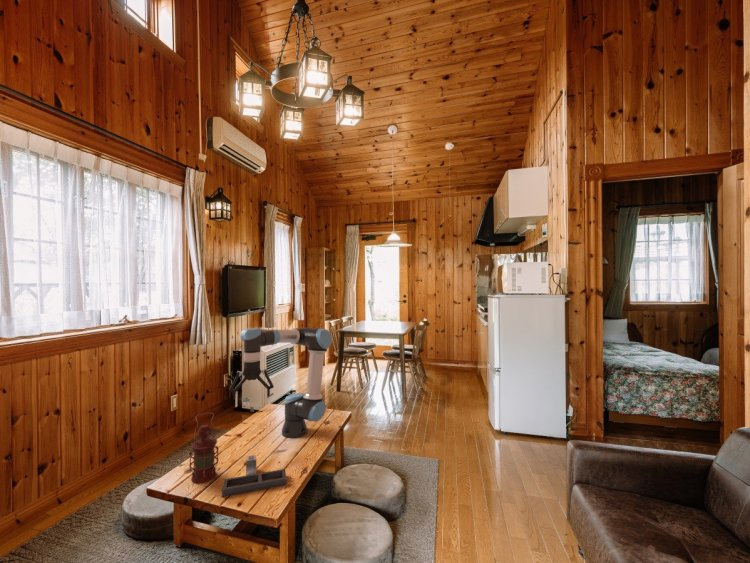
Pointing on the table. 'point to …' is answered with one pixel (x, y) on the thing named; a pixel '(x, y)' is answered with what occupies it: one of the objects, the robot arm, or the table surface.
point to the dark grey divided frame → (253, 486)
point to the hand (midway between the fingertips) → (251, 404)
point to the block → (251, 465)
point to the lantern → (203, 455)
